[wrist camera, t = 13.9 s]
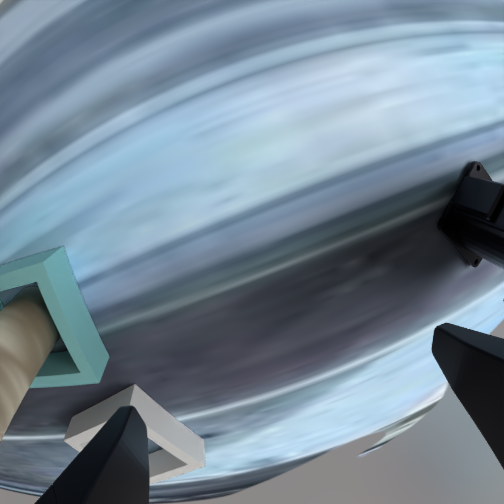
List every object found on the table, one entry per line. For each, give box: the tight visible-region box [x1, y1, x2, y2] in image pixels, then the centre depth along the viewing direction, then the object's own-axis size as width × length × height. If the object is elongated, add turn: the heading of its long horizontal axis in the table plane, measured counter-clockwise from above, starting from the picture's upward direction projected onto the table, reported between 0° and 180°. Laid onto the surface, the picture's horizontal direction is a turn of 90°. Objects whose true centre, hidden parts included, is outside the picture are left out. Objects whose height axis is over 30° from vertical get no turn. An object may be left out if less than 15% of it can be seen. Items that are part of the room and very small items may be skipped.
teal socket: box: [0, 246, 109, 388], centre depth 17 cm, size 9×9×3 cm
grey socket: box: [64, 384, 205, 484], centre depth 22 cm, size 9×9×3 cm
